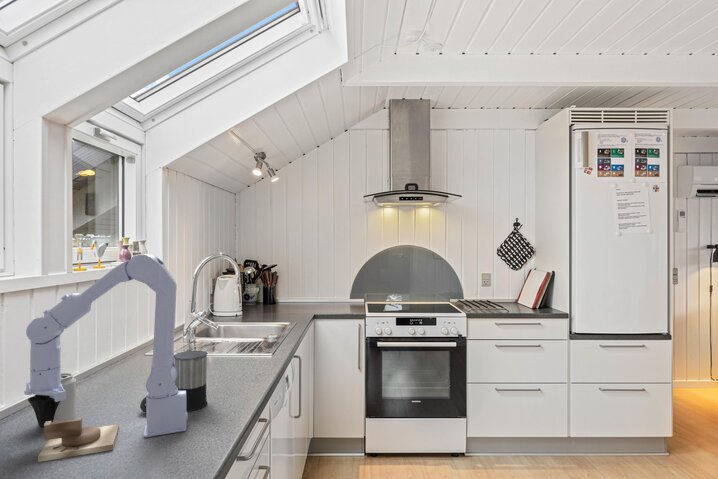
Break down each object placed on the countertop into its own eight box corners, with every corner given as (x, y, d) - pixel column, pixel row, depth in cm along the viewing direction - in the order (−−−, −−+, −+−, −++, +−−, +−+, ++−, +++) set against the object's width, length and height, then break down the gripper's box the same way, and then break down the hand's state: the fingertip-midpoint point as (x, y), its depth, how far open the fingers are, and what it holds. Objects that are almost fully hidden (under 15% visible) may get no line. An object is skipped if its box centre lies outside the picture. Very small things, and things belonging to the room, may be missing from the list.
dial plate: (119, 428, 109) (119, 423, 109) (113, 449, 98) (113, 443, 98) (52, 439, 104) (52, 433, 104) (37, 462, 93) (37, 455, 93)
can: (82, 415, 118) (82, 371, 118) (64, 427, 110) (64, 379, 110) (53, 416, 117) (53, 371, 118) (34, 428, 110) (34, 380, 110)
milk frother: (214, 403, 126) (214, 352, 126) (166, 423, 112) (166, 365, 113) (182, 395, 133) (182, 346, 133) (133, 412, 120) (133, 358, 120)
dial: (102, 429, 105) (102, 409, 105) (97, 442, 98) (97, 421, 98) (49, 437, 101) (49, 416, 101) (40, 452, 94) (40, 429, 94)
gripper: (11, 367, 102) (11, 426, 102) (41, 377, 94) (41, 440, 94) (45, 360, 108) (45, 415, 108) (76, 368, 100) (76, 428, 100)
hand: (45, 426), depth 101 cm, fingers closed
